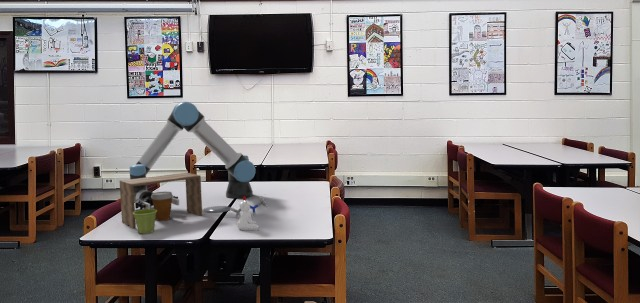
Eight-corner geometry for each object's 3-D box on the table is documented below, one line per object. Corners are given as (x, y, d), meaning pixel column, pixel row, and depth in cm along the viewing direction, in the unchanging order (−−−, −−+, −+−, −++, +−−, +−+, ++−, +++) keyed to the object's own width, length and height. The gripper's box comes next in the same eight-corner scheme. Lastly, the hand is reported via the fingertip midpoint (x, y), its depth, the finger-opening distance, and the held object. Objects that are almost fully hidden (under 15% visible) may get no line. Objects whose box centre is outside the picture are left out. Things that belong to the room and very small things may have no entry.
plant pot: (136, 236, 183) (135, 215, 182) (131, 231, 191) (130, 210, 190) (160, 232, 188) (159, 212, 187) (155, 227, 196) (154, 207, 195)
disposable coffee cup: (167, 221, 206) (165, 195, 205) (148, 221, 208) (146, 195, 207) (177, 216, 215) (176, 191, 214) (159, 216, 217) (158, 191, 216)
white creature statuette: (260, 230, 189) (259, 201, 188) (239, 232, 186) (238, 203, 185) (255, 225, 198) (254, 197, 196) (235, 227, 195) (234, 199, 194)
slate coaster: (231, 205, 237) (231, 205, 237) (231, 211, 224) (231, 211, 224) (203, 207, 235) (203, 206, 235) (201, 213, 221) (201, 213, 221)
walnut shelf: (122, 222, 206) (119, 180, 204) (188, 210, 227) (187, 172, 226) (133, 228, 196) (130, 184, 194) (202, 215, 217) (200, 175, 215)
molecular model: (267, 212, 220) (263, 192, 221) (271, 213, 212) (267, 191, 213) (230, 220, 214) (227, 199, 214) (233, 220, 206) (229, 198, 207)
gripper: (171, 202, 234) (190, 208, 218) (120, 210, 217) (136, 217, 201) (170, 187, 233) (189, 192, 217) (119, 194, 216) (135, 200, 201)
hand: (164, 204), depth 209 cm, fingers open, 13 cm apart
